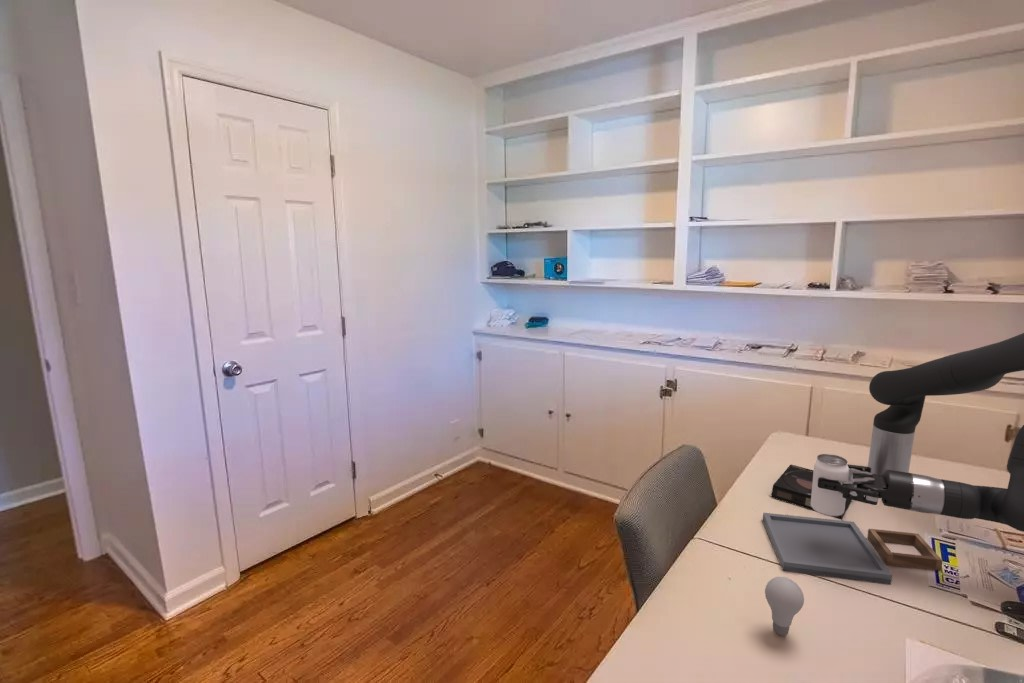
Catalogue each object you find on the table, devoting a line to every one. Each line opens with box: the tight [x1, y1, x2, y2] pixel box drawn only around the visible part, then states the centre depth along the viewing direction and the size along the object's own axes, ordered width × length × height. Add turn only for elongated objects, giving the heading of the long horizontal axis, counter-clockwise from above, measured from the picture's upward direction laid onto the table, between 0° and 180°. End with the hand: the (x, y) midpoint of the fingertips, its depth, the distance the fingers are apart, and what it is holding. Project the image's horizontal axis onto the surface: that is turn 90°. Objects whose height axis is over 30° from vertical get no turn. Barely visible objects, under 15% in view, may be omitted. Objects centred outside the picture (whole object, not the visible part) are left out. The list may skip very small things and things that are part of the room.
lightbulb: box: [764, 576, 805, 637], centre depth 92 cm, size 6×6×11 cm
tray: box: [762, 512, 893, 585], centre depth 117 cm, size 20×20×2 cm
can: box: [811, 453, 849, 517], centre depth 113 cm, size 6×6×12 cm
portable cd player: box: [770, 464, 853, 519], centre depth 140 cm, size 16×17×4 cm
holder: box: [867, 528, 944, 572], centre depth 115 cm, size 10×10×2 cm
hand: (817, 475), depth 114 cm, fingers closed on can, 6 cm apart
